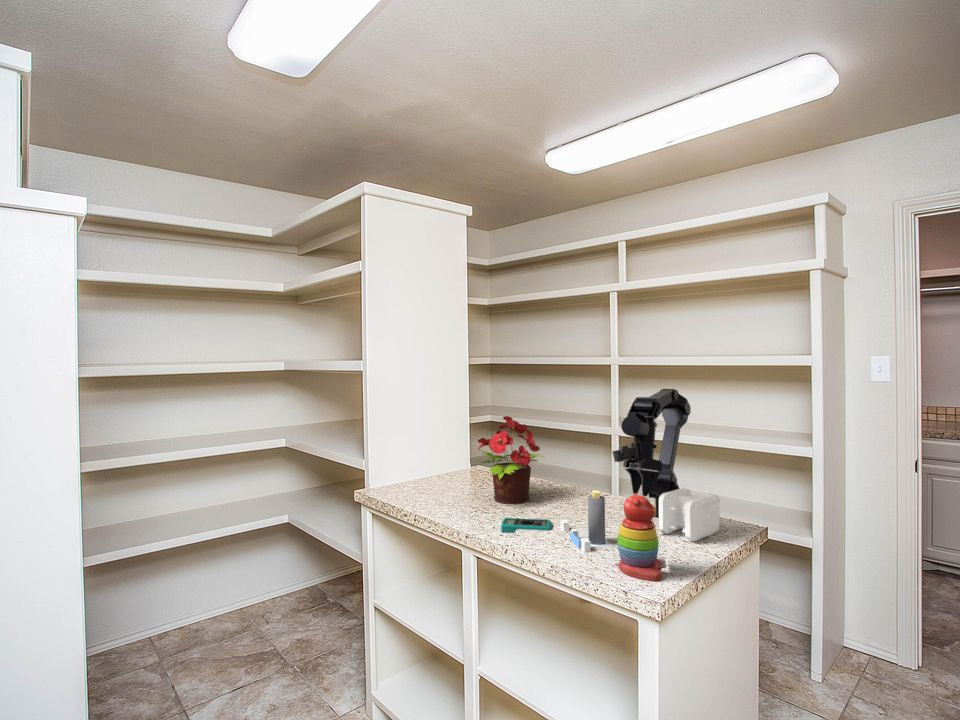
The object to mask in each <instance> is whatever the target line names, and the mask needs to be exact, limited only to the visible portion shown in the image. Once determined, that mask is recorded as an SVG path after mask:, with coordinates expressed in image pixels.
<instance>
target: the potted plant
mask: <svg viewBox="0 0 960 720" xmlns="http://www.w3.org/2000/svg"><path fill="white" fill-rule="evenodd" d="M502 419H503V420H504V421H505V424H501V425H500V426H498V429H499V430H497V431H496V432H495V434H494V435H493V436H492V437H491V438H489V439H488V438H485V437H482V438H480V439H477V442H478V443H479V444H480V445H479V446H478V448H477V452H480V449H481V448H482V447H486V446H488V447H489V450H490V451H491V452H487V451H484V450H481V453H483V455H485V456H483V457H484V458H485V457H486V458H487V457H488V459H487V460H485V461H482V462H478V463H475V464H474V466H476V465H479V464H483V465H484V464H487V463H488V464H492V463H493V464H494V463H496V464H494V465H493V466H491V468H489V469H488V472H490V474H492V482H493V493H494V496H493V498H494V499H493V500H494V501H495V502H496V503H499V504H505V505H519V504H524V503H527V502H529V501H530V484H531V472H532V468H531V466H530V465H529V464H530V463H531V462H532V463H534V462H538V461H539V459H535V458H540V457H542V458H547V457H546V456H545V455H544V456H543V455H542V454H541V453H539V454H538V453H537V454H535V453H536V452H538V451H540V450H541V449H540V446H539V445H537V444H536V441H535V440H534V438H533V433H532V431H531V430H529V429H527V428H528V426H527V425H526V424H521V423H519V422H518V421H517V420H514V419H513V418H512V417H511V416H508V415H507V416H503V417H502ZM506 428H509V429H510V430H511V431H512V434H514V432H515V433H517V437H519V438H521V439H523V440H525V443H526V446H525V445H520V446H518V450H517V449H514V450H512V451H511V453H510V454H509V452H508V450H507V447H508V446H511V448H513V444H514V436H512V435H511V436H510V435H509V434H508V431H506V430H503V429H506ZM524 433H526V437H525V436H524V435H523V434H524ZM527 447H528V448H529V450H530V451H532V452H535V453H530V452H529V451H528V450H527V449H526V448H527ZM503 453H504V455H501V454H503ZM506 453H507V454H506ZM494 454H497V455H494ZM499 454H500V455H499ZM502 461H504V462H502Z"/></svg>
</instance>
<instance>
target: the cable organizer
mask: <svg viewBox="0 0 960 720" xmlns="http://www.w3.org/2000/svg"><path fill="white" fill-rule="evenodd" d="M691 491H692V490H690V489H689V488H685V487H682V488H681V487H680V489H677V490H673V491H670V492H666V493H663V494H661V495H660V497H659V518H658V529H659V531H660V532H662V533H664V534H665V535H669V534H671V533H673V532H675V531H676V530H682V531H681V533H682V535H683V536H684V537H685V539H686V540H688V541H689V540H690V541H691V542H693V543H694V542H697V541H700V540H701V539H703V538H705V537H707V536H708V537H710V536H712V535H714V534H716V533H717V532H718V531H719V529H720V526H721V525H720V503H721V499H720V497H719V495H718V494H715V493H707V494H703V495H700V496H695V497H694V496H692V492H691Z"/></svg>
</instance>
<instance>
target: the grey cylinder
mask: <svg viewBox="0 0 960 720" xmlns="http://www.w3.org/2000/svg"><path fill="white" fill-rule="evenodd" d="M605 500H606V499H605V496H603V495H601V492H600V490H592V495H589V496H587V512H588V513H587V514H588V515H587V516H588V519H587V520H588V523H587V524H588V525H587V526H588V529H589V537H588V539H589V541H590V542H591V544H595V545H602V544H605V539H606V501H605Z"/></svg>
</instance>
